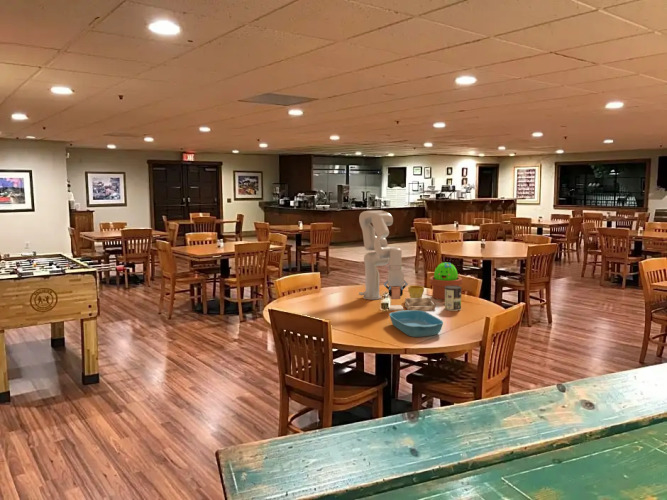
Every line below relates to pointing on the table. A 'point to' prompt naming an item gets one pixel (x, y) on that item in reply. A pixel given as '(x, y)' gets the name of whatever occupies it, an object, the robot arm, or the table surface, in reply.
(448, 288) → the coffee can
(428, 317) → the casserole dish
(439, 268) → the potted cactus
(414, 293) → the plant pot
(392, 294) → the terracotta pot
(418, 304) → the frame
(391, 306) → the stone tile
